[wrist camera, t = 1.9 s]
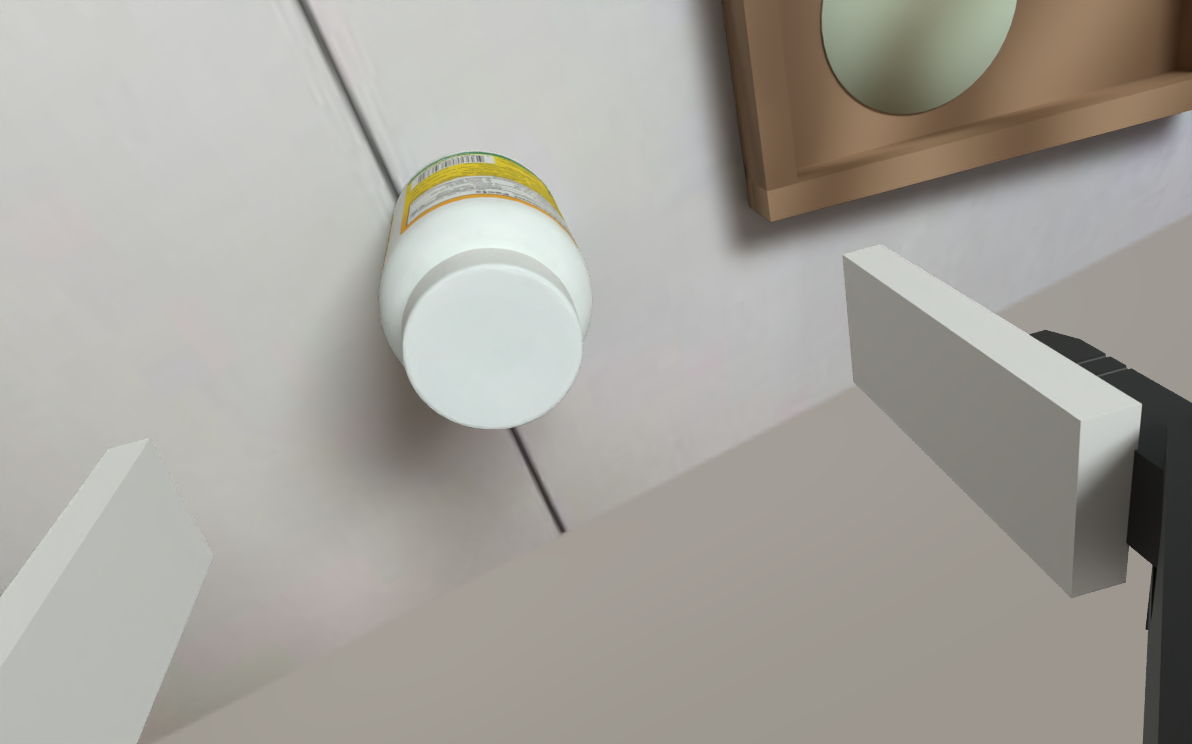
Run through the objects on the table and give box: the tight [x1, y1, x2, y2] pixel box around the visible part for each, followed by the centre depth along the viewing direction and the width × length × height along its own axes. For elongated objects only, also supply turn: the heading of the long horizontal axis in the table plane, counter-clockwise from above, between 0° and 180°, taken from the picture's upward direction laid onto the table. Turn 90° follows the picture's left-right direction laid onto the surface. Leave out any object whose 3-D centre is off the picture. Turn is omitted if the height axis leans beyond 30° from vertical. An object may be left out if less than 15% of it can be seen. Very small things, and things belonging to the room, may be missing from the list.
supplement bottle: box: [379, 150, 593, 430], centre depth 23 cm, size 5×5×10 cm
